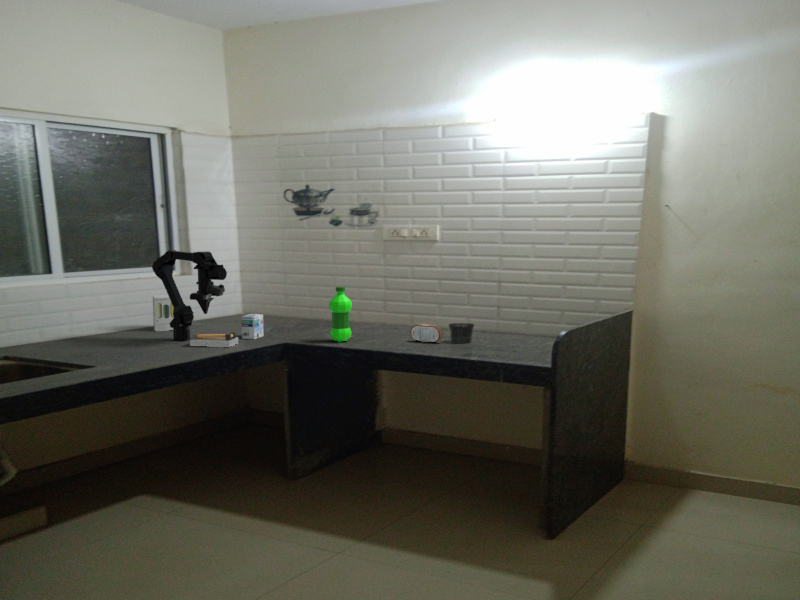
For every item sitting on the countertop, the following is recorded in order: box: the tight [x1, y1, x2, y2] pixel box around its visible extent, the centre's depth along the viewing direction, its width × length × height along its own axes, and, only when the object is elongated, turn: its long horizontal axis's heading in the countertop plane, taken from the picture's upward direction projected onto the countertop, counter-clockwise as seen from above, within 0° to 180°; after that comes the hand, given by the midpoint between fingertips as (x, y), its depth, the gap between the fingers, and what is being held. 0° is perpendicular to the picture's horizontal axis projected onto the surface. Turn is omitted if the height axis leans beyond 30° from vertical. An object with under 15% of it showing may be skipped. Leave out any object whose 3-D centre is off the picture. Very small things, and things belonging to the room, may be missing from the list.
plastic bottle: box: [328, 286, 353, 343], centre depth 290 cm, size 10×10×25 cm
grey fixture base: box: [189, 331, 239, 348], centre depth 280 cm, size 18×10×6 cm, turn 82°
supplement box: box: [152, 294, 174, 332], centre depth 327 cm, size 13×13×18 cm
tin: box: [409, 323, 443, 343], centre depth 289 cm, size 15×3×8 cm, turn 65°
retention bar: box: [197, 333, 233, 338], centre depth 280 cm, size 16×3×1 cm, turn 82°
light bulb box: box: [241, 313, 264, 340], centre depth 301 cm, size 11×7×11 cm, turn 168°
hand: (205, 313), depth 287 cm, fingers closed
